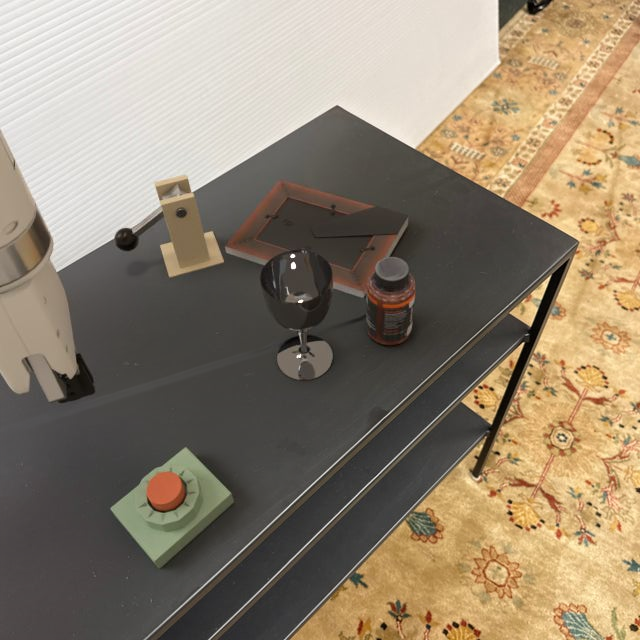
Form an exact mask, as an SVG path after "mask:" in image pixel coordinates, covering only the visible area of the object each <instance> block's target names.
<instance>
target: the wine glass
mask: <svg viewBox="0 0 640 640" xmlns="http://www.w3.org/2000/svg"><path fill="white" fill-rule="evenodd" d="M259 278H260V279H259V280H260V288H261V292H262V296H263V300H264V303H265V306H266V308H267V310H268V313H269V314H270V315H271V318H273V320H274V321H275V322H276V323H277V324H278V325H279V326H281V327H282V328H284V329H286V330H289V331H293V332H296V334H297V336H294V337H291V338H289V339H288V340H286V341H285V342H284V343H283V344H282V345H281V346H280V348H279V349H278V351H277V356H276V363H277V366H278V368H279V370H280V371H281V373H283V374H284V375H285V376H287V377H288V378H290V379H292V380H296V381H311V380H315V379H318V378H320V377H322V376H323V375H324V374H325V373H327V372H328V371H329V369H330V368H331V366H332V365H333V361H334V353H333V350H332V348H331V346H330V344H329V343H328V342H327V341H325V339H322V338H320V337H318V336H316V335H311V334H308V331H309V330H312V329H314V328H316V327H317V326H318V325H320V324H321V323H322V322H323V321H324V320H325V319H326V317H327V315H328V313H329V310H330V307H331V305H332V300H333V294H334V288H333V274H332V269H331V266H330V264H329V263H328V262H327V261H326V260H325V259H324V258H323V257H322V256H320V255H318V254H316V253H313V252H310V251H305V250H293V251H287V252H284V253H281V254H279V255H277V256H275V257H273V258H272V259H270V260H269V261H268V262H267V263H266V264H265V266H264V265H263V267H262V269H261V272H260V275H259Z"/></svg>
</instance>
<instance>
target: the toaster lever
mask: <svg viewBox="0 0 640 640" xmlns="http://www.w3.org/2000/svg"><path fill="white" fill-rule="evenodd" d="M184 194H187V192H186V191H185V190H184V189H183V188H181V187H180V186H179V185H178V184H177V185H175V186H174V187H173V188H172V189H170V190H169V191H168V192H167V193H165V194H164V195H163V196H162V199H163V200H164V199H168V198H172V197H176V196H180V195H184ZM163 218H165V217H164V213H163V210H162V207H161V205H160V206H159V207H158V208H156V209H155V210H154V211H152V212H151V213H150V214H148V215H147V216H146V217H145V218H143V219H142V220H141V221H140V222H138V223H137V224H136V225H135V226H133V227H132V228H131V227H122V228H120V229H118V230H117V231H116V232H115V235H114V238H113V239H114V240H113V241H114V244H115V246H116V248H117V249H119V250H120V251H122V252H131V251H134V250H136V248H137V247H138V246H139V242H140V236H142V235H143V234H145V233H146V232H147V231H148V230H150V229H151V228H152V227H153V226H155V225H156V224H157V223H158V222H159V221H161V220H163Z"/></svg>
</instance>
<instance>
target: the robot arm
mask: <svg viewBox="0 0 640 640" xmlns="http://www.w3.org/2000/svg"><path fill="white" fill-rule="evenodd" d="M53 251H54V238H53V235H52V234H51V232H50V230H49V227H48V225H47V223H46V221H45V219H44V216H43V215H42V212H41V210H40V209H39V206H38V204H37V202H36V200H35V198H34V196H33V195H32V193H31V190H30V188H29V186H28V184H27V182H26V179H25V178H24V175H23V173H22V171H21V169H20V167H19V165H18V163H17V160H16V158H15V156H14V154H13V152H12V150H11V148H10V145H9V144H8V142H7V140H6V138H5V136H4V133H3V131H2V129H1V128H0V375H1V376H2V378H3V379H4V381H5V383H6V384H7V386H8V387H9V388H10V389H11V391H13V392H14V393H15V394H17V395H21V394H25V393H29V392H30V385H31V372H33V373H34V375H35V377H36V380H37V381H38V383H39V385H40V387H41V389H42V391H43V393H44V394H45V397H46V400H47V401H48V403H49V404H53V403H56V402H58V403H59V404H65V403H69V402H75V401H78V400H80V399H82V398H85V397H89V396H92V395H94V394H95V393H96V387H95V385H94V383H95V380H94V376H93V374H92V372H91V371H90V369H89V366H88V365H87V363H86V361H85V359H84V357H83V356H82V354H81V352H79V353H77V352H78V351H77V346H76V343H75V341H74V340H75V339H74V333H73V327H72V319H71V313H70V307H69V302H68V298H67V294H66V293H67V292H66V290H65V288H64V286H63V282H62V280H61V278H60V275H59V274H58V272H57V270H56V268H55V266H54V264H53V262H52V260H51V256H52V254H53Z"/></svg>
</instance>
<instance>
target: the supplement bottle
mask: <svg viewBox="0 0 640 640" xmlns="http://www.w3.org/2000/svg"><path fill="white" fill-rule="evenodd" d="M416 286H417V285H416V281H415V278H414V276H413V275H412V274H411V273H410V267H409V265H408V263H407V262H406V261H405V260H404V259H402V258H399V257H396V256H389V257H387V258H384V259H381V260H380V261H379V262H378V263H377V264H376V266H375V272H373V273H372V274H371V275H370V277H369V279H368V281H367V292H366V294H365V296H366V297H365V298H366V299H365V301H366V302H365V303H366V307H365V309H366V311H365V312H366V313H365V319H366V321H365V324H366V325H365V327H366V331H367V332H366V333H367V334H368V336H369V337H370V338H371V339H372V341H374V342H375V343H377V344H380V345H385V346H395V345H399V344H402V343H403V342H405V341H406V340H407V339H408V338H409V337H410V336H411V333H412V330H413V323H414V313H415V312H414V311H415V310H414V309H415V301H416V300H415V299H416Z"/></svg>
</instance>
